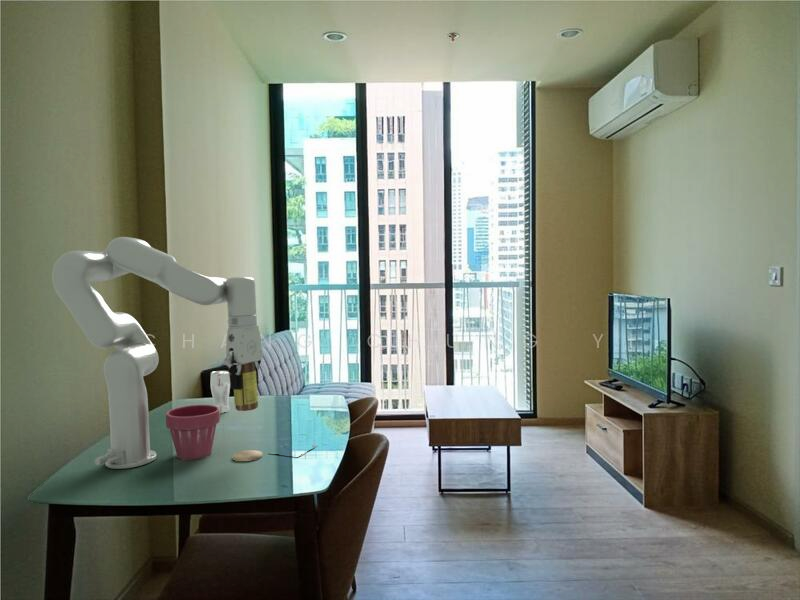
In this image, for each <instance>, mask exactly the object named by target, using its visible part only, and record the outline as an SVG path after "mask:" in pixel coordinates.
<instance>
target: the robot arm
mask: <svg viewBox="0 0 800 600" xmlns="http://www.w3.org/2000/svg"><path fill="white" fill-rule="evenodd" d="M130 273H131V274H134V275H136V276H138V277H141V278H143V279H145V280H148V281H149V282H152V283H153V284H154V283H155V284H156V285H158V286H159V287H161V288H163V289H165V290H167V291H168V292H170V293H172V294H174V295H176V296H178V297H181V298H183V299H184V300H188V301H189V302H192V303H195V304H198V305H201V306H212V305H220V304H223V303H226V304H227V325H228V328H227V332H226V333H227V334H226V344H225V345H226V357H225V358H224V361H223V363H222V365H223V366H224V368H225V369H226V371H228V372H229V376H230V389H231V390H234V389H237V390H241V389H242V375H239V374H240V371H241V366H242V365H244V364H248V363H250V362H255V368H256V380H257V385H258V384H259V369H260V365H261V361H262V359H263V358H264V357H263V356H264V354H263V346H262V345H263V344H262V336H261V331H260V328H259V325H257V324H258V323H257V300H256V298H257V296H256V281H255V279H254V278H253V277H250V276H233V277H230V278H229V277H221V276H219V277H218V276H205V275H203V274H200V273H197V272H196V271H193V270H192V269H188V268H186V267H184V266H183V265H181V264H180V263H178V262H177V260H176V258H175V257H174V256H173V255H171V254H168V253H166V252H164V251H162V250H159V249H156V248H154V247H152V246H151V245H150V244H149V243H148V242H147V241H145V240H143V239H139V238H135V237H129V236H119V237H116V238H114V239H112V240H110V242H109V243H108V244H107V245H106V248H105V249H103V250H102V251H92V250H82V249H81V250H80V249H79V250H72V251H71V250H70V251H67V252H66V253H63V254H62V255H61V256H60V257H59V258H58V259H57V260H56V261H55V262H54V265H53V268H52V272H51V282H52V286H53V289H54V291H55V292H56V294H57V296H58V298H60V300H61V301H62V303H63V304H64V306H66V308H67V309H68V311H69V313H70V314H71V316H72V317H73V319H74V320H75V322H76V323H77V325H78V326H79V328H80V329H81V331H82V333H83V334H84V335H85V337H86V338H87V340H88V341H89V342H90V344H91V345H92V346H94V347H95V348H98V349H109V348H114V349H115V350H114V351H112V352H110V353H109V355H107V357H106V358H105V361H104V363H103V375H104V379H105V383H106V389H107V390H106V391H107V399H108V414H109V431H110V436H109V438H110V448H107V453H105V455H100V456H98V457H96V458H95V459H94V463H95V465H96V466H99V465H102V464H105V465H104V466H105V467H107V468H109V469H114V470H115V469H116V470H117V469H118V470H121V469H131V468H137V467H141V466H143V465H147V464H149V463H152V462H153V461H154V460H156V458H157V452H156V451H154V450H152V449H151V444H150V443H151V440H150V421H149V417H150V415H149V402H148V401H149V399H148V391H147V386H146V383H145V380H144V377H145V376H148V375H150V374H151V373H153V372H154V371H155V370H156V369H157V367H158V364H159V362H160V361H159V360H160V359H159V353H158V351H157V349H156V347H155V346H154V344H153V342H152V341H151V340H150V338H149V336H148V335H147V333H146V331H145V330H144V329H143V328H142V326H141V325H140V323H139V322H138V321H137V319H135V317H133V316H132V315H131V314H129V313H127V312H126V313H125V312H124V311H121V312H120V311H115V312H113V310H112V309H111V308H110V307H109V305H108V304H107V303H106V301H105V299H104V297H103V296H102V295H101V294H100V293H99V291H97V290H96V289H95V288H94V287H93V286H92V285H91V283H95V282H96V283H98V282H101V283H102V282H105V281H106V282H107V281H109V280H113V279H115V278H119V277H121V276H124V275H128V274H130ZM235 361H236V362H237V363H234V362H235ZM235 366H237V368H235Z"/></svg>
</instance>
